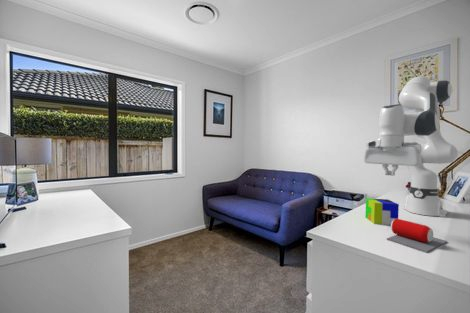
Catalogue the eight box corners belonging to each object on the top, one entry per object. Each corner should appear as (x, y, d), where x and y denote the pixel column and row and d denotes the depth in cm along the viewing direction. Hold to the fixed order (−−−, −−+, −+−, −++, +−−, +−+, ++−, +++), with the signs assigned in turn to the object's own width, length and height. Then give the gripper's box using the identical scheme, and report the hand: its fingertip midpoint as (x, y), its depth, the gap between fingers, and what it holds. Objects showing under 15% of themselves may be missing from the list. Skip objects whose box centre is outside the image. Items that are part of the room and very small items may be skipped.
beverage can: (395, 215, 88) (432, 223, 78) (397, 227, 90) (435, 237, 79) (388, 223, 85) (426, 233, 75) (391, 235, 87) (428, 247, 77)
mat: (408, 231, 91) (408, 230, 91) (447, 242, 80) (447, 240, 80) (386, 239, 82) (387, 238, 82) (426, 252, 71) (426, 251, 71)
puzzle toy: (398, 225, 98) (398, 204, 98) (374, 223, 100) (374, 202, 100) (387, 218, 108) (387, 199, 108) (365, 217, 110) (366, 198, 110)
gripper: (425, 142, 82) (424, 177, 83) (370, 143, 100) (369, 172, 101) (417, 142, 79) (416, 178, 80) (362, 143, 97) (361, 173, 98)
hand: (390, 175), depth 90 cm, fingers closed
